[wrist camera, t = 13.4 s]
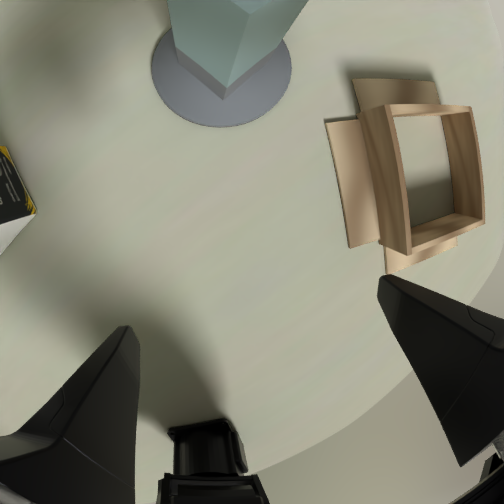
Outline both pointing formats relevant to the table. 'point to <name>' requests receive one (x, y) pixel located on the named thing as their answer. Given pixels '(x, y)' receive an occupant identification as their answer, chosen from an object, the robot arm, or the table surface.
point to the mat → (207, 102)
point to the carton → (392, 175)
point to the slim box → (229, 37)
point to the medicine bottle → (12, 201)
